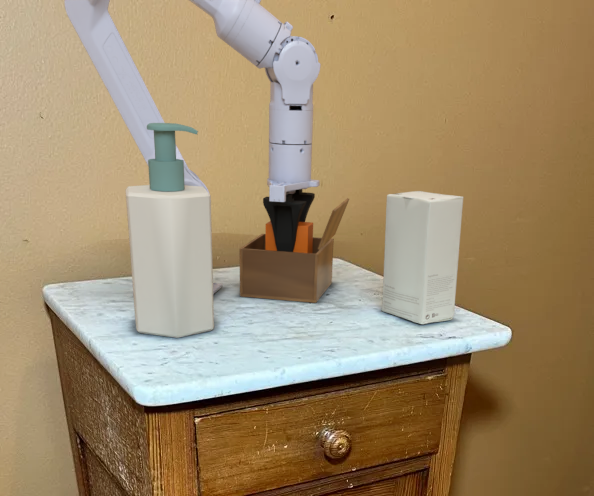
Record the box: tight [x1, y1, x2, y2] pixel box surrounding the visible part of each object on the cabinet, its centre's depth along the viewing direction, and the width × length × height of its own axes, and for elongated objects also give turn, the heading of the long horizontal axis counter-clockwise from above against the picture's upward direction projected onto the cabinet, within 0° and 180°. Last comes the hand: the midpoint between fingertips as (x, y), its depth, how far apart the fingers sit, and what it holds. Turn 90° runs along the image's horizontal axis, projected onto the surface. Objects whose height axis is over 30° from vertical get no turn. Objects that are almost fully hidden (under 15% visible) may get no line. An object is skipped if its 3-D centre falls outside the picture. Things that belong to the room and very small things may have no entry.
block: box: [264, 221, 314, 253], centre depth 108 cm, size 4×6×5 cm, turn 77°
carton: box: [239, 233, 335, 304], centre depth 110 cm, size 12×11×6 cm
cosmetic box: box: [381, 190, 465, 325], centre depth 97 cm, size 8×6×15 cm
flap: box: [318, 197, 350, 250], centre depth 105 cm, size 12×5×1 cm
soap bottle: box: [125, 122, 215, 339], centre depth 88 cm, size 10×9×22 cm
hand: (288, 250), depth 108 cm, fingers closed on block, 3 cm apart
